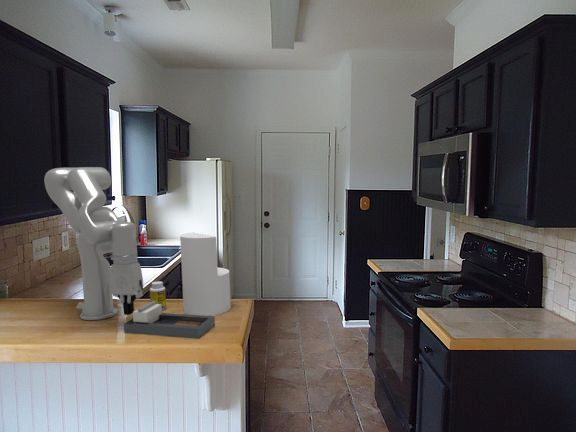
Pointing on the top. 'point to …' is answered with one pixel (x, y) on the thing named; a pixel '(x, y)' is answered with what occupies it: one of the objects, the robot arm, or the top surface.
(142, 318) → the slider knob
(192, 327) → the dark grey tray
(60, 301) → the top surface
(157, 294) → the supplement bottle
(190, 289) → the cylinder
